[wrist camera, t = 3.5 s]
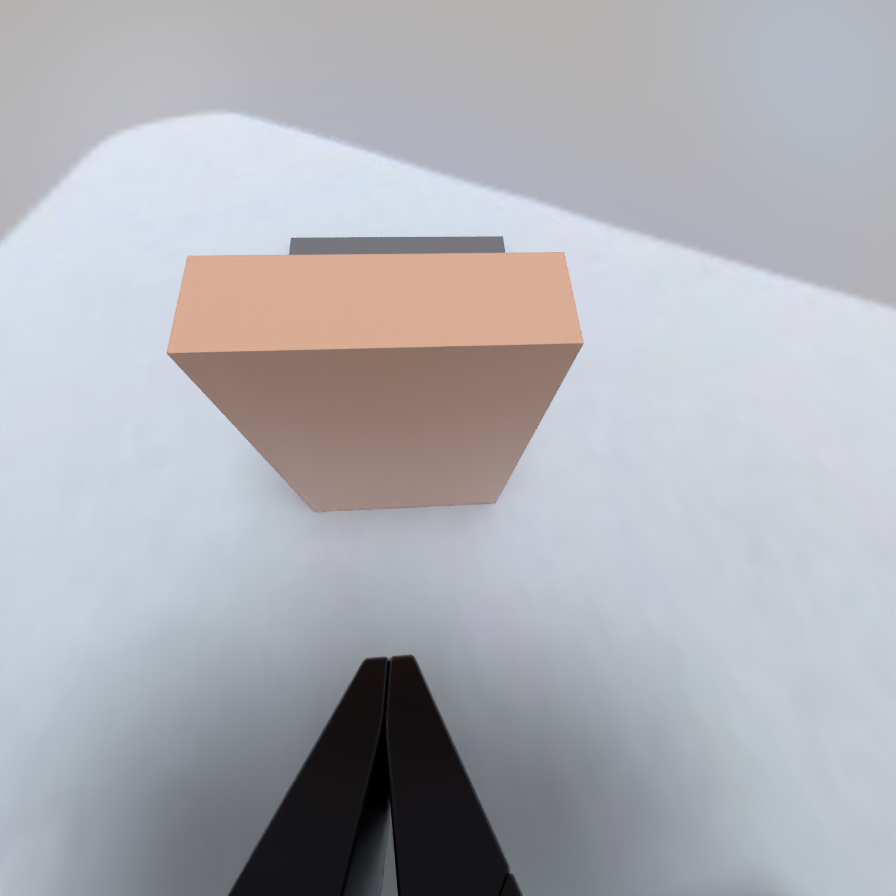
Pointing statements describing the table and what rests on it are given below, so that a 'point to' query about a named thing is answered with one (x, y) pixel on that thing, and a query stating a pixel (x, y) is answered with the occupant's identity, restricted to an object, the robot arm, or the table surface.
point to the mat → (395, 245)
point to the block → (381, 366)
